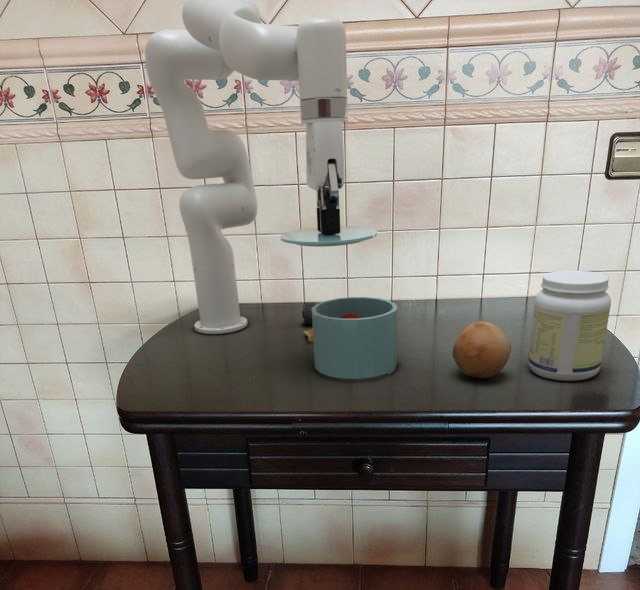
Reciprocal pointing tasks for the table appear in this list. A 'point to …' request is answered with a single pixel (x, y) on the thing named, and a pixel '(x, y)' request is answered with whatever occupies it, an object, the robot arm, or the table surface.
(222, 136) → the robot arm
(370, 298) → the pot
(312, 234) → the lid
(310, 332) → the shard
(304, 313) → the flashlight
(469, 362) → the onion
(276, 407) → the table surface
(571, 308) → the supplement tub
